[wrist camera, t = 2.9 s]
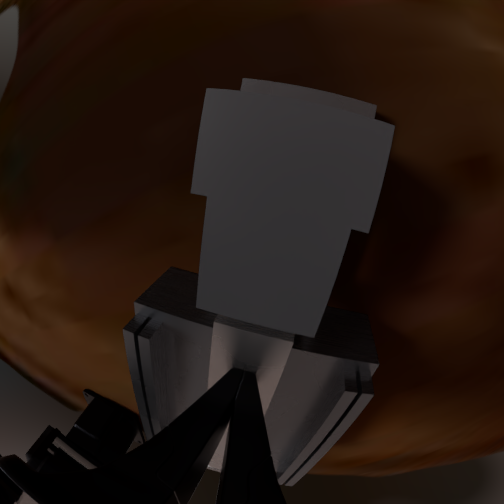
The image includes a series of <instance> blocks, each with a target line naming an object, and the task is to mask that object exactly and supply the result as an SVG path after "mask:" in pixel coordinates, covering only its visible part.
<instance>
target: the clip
mask: <svg viewBox="0 0 504 504" xmlns="http://www.w3.org/2000/svg"><path fill="white" fill-rule="evenodd" d="M394 128H395V126H394V125H391V124H389V123H386V122H383V121H380V120H376V119H373V118H370V117H367V116H363V115H360V114H357V113H353V112H349V111H346V110H342V109H338V108H334V107H330V106H326V105H322V104H317V103H312V102H308V101H303V100H298V99H292V98H287V97H281V96H275V95H268V94H261V93H254V92H245V91H236V90H225V89H212V88H207V89H206V95H205V100H204V106H203V112H202V118H201V124H200V130H199V136H198V143H197V150H196V157H195V164H194V172H193V180H192V188H191V193H194V194H199V195H204V196H207V203H206V211H205V219H204V228H203V237H202V246H201V256H200V266H199V277H198V288H197V301H196V308H199V309H203V310H206V311H209V312H213V313H216V314H220V315H223V316H227V317H231V318H234V319H238V320H242V321H246V322H249V323H253V324H257V325H261V326H265V327H269V328H273V329H277V330H282V331H286V332H290V333H295V334H299V335H304V336H308V337H313V338H314V337H315V334H316V332H317V329H318V327H319V324H320V321H321V319H322V316H323V313H324V311H325V308H326V305H327V302H328V300H329V297H330V294H331V291H332V288H333V285H334V283H335V280H336V277H337V274H338V271H339V268H340V264H341V261H342V258H343V255H344V252H345V249H346V245H347V242H348V239H349V235H350V232H351V229H354V230H357V231H361V232H365V233H369V230H370V227H371V223H372V220H373V217H374V213H375V209H376V206H377V202H378V199H379V195H380V191H381V187H382V183H383V179H384V175H385V171H386V167H387V162H388V158H389V153H390V148H391V144H392V139H393V133H394Z"/></svg>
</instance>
